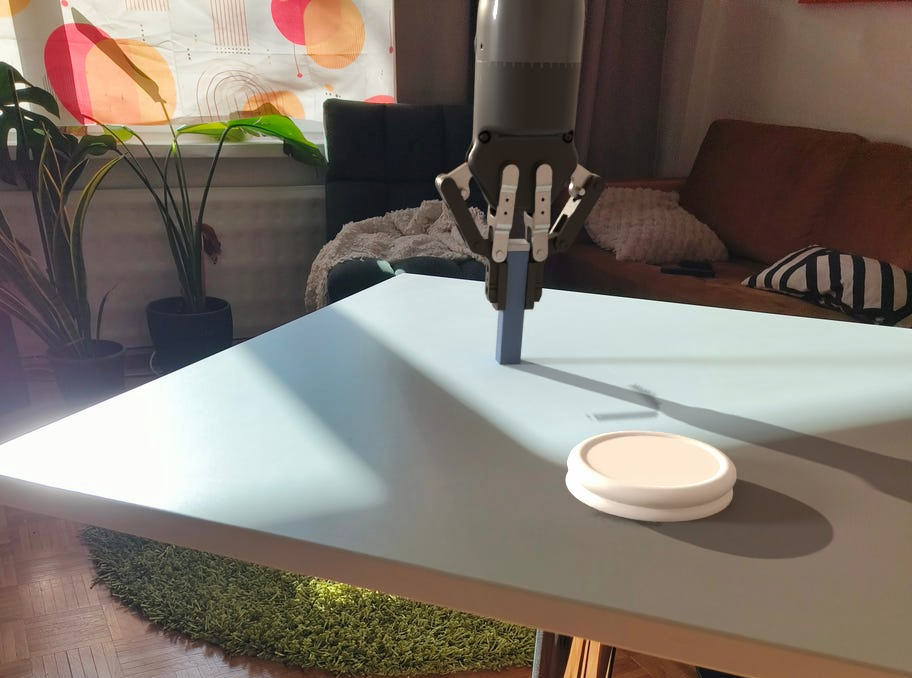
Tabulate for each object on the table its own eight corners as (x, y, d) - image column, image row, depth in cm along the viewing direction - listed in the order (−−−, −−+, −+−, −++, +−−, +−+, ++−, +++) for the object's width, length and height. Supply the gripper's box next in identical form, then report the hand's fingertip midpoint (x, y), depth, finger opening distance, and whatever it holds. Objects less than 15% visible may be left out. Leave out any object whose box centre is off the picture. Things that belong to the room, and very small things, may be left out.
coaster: (530, 502, 56) (534, 449, 54) (640, 466, 61) (647, 417, 59) (649, 564, 50) (658, 506, 48) (761, 518, 55) (773, 464, 53)
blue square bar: (514, 361, 77) (524, 238, 71) (520, 369, 76) (530, 244, 70) (494, 362, 77) (502, 239, 71) (499, 370, 75) (507, 244, 69)
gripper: (442, 56, 59) (438, 322, 69) (638, 58, 61) (607, 317, 71) (424, 53, 65) (422, 299, 75) (603, 56, 67) (579, 294, 77)
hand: (512, 307), depth 73 cm, fingers closed on blue square bar, 2 cm apart
